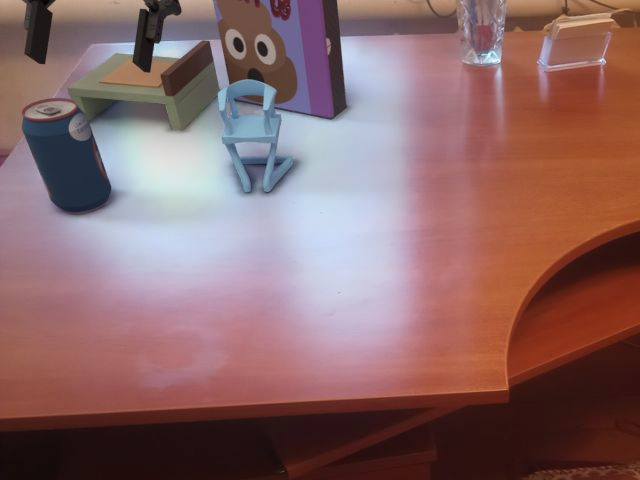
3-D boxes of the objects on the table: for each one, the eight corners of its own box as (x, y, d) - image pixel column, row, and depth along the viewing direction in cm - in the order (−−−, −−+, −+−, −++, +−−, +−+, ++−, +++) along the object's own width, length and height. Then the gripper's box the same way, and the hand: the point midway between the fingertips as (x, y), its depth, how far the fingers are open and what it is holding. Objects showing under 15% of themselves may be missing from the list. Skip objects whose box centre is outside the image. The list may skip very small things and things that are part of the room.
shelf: (78, 121, 106) (59, 66, 101) (125, 84, 117) (110, 32, 111) (182, 130, 105) (168, 75, 99) (220, 92, 115) (209, 40, 110)
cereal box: (232, 100, 113) (198, -75, 97) (249, 88, 116) (219, -82, 100) (331, 119, 109) (312, -61, 93) (346, 107, 112) (330, -68, 96)
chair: (226, 193, 92) (205, 101, 84) (236, 162, 98) (218, 73, 90) (287, 192, 92) (273, 100, 84) (294, 161, 98) (281, 73, 90)
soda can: (126, 197, 90) (96, 104, 82) (79, 222, 86) (42, 126, 78) (89, 182, 93) (56, 90, 85) (41, 206, 88) (1, 111, 80)
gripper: (223, -81, 91) (201, 84, 90) (37, -92, 93) (13, 69, 92) (196, -123, 83) (171, 56, 82) (-6, -134, 85) (-33, 40, 84)
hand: (87, 63), depth 87 cm, fingers open, 13 cm apart
